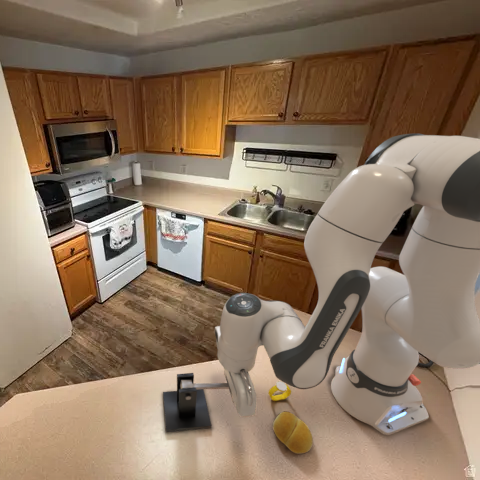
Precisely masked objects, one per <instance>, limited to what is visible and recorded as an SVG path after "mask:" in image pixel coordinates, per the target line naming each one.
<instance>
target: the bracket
mask: <svg viewBox="0 0 480 480" xmlns="http://www.w3.org/2000/svg"><path fill="white" fill-rule="evenodd" d="M181 380H192V383H194V381H195V375H194V372H188V373H177V374H176V390H169V391H163V392H162V397H163V409H164V410H163V411H164V422H165V423H164V424H165V433H174V432H183V431H196V430H204V429H205V430H206V429H212V421H211V416H210V413H209V408H208V403H207V399H206V395H205V389H199V390H197V389H196V388H185V389H181V388H180V384H181Z"/></svg>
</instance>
